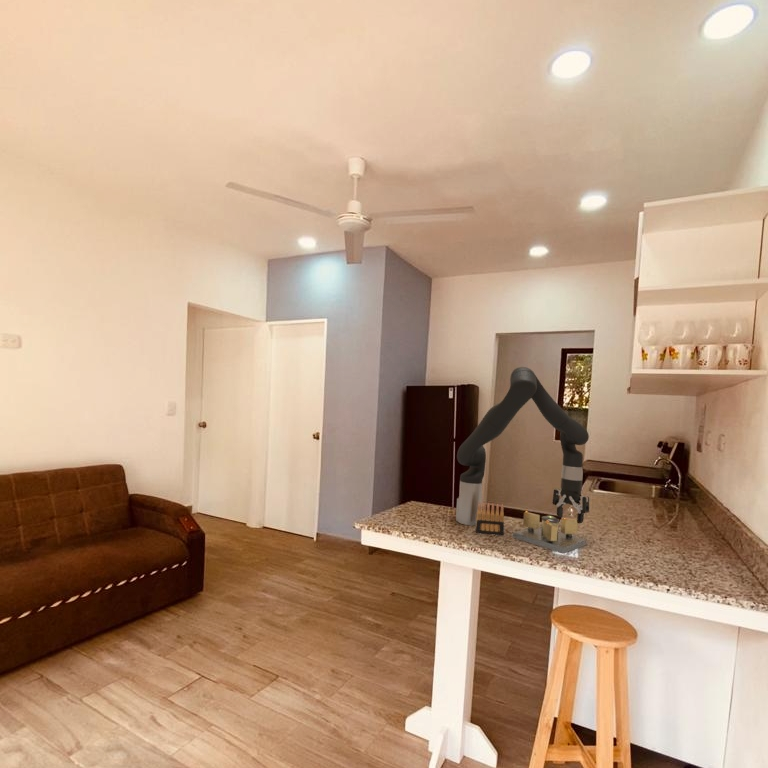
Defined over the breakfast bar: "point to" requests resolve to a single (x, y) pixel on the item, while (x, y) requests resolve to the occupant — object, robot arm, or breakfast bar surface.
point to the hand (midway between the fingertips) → (569, 520)
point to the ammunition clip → (490, 520)
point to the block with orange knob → (531, 521)
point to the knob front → (550, 531)
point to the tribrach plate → (537, 538)
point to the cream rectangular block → (569, 526)
